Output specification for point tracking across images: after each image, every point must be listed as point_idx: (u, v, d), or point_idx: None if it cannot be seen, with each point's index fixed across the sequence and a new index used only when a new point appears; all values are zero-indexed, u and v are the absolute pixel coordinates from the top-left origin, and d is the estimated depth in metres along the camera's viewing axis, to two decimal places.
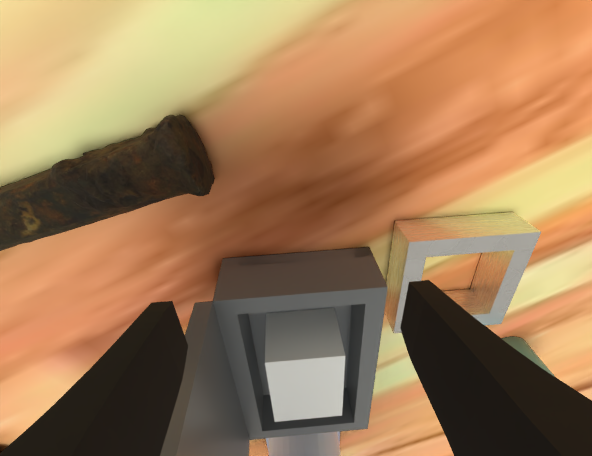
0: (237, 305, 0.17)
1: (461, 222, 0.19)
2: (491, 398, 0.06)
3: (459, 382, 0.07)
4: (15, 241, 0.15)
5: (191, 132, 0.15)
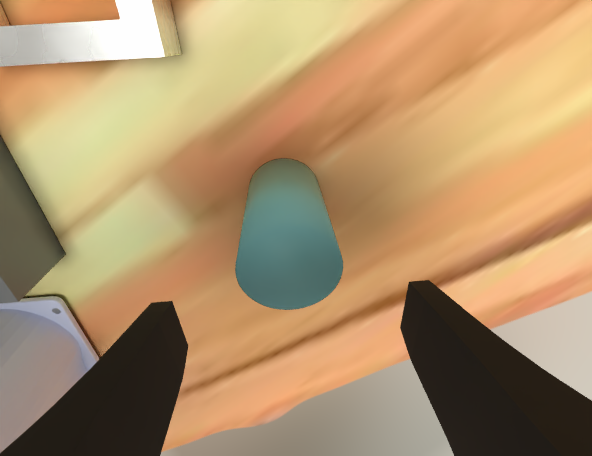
0: None
1: None
2: (491, 398, 0.06)
3: (459, 382, 0.07)
4: None
5: None
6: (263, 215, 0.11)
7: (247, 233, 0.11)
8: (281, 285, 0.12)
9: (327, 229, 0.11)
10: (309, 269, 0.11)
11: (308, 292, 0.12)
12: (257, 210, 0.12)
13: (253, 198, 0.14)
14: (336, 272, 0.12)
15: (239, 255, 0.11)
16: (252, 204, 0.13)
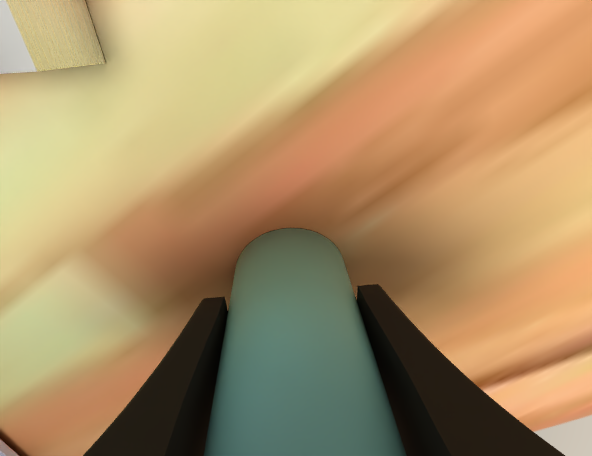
0: None
1: None
2: (413, 405, 0.06)
3: (393, 388, 0.07)
4: None
5: None
6: (253, 418, 0.05)
7: None
8: None
9: (393, 454, 0.05)
10: None
11: None
12: (242, 386, 0.06)
13: (237, 327, 0.07)
14: None
15: None
16: (234, 348, 0.07)
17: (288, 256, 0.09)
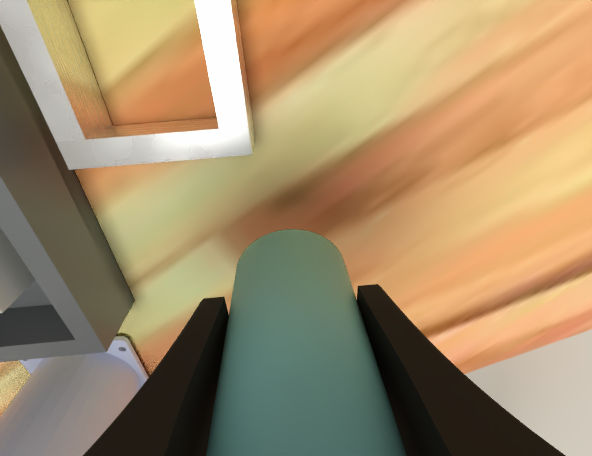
0: None
1: None
2: (413, 405, 0.06)
3: (393, 388, 0.07)
4: None
5: None
6: (251, 421, 0.05)
7: None
8: None
9: (392, 453, 0.05)
10: None
11: None
12: (241, 388, 0.06)
13: (237, 330, 0.07)
14: None
15: None
16: (234, 351, 0.07)
17: (287, 258, 0.09)
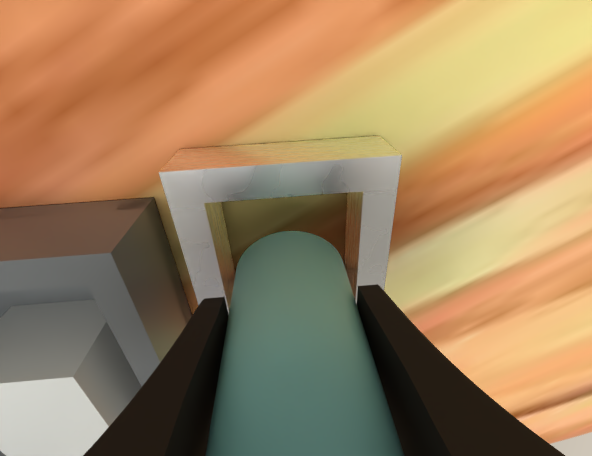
0: None
1: (281, 148, 0.11)
2: (413, 405, 0.06)
3: (393, 388, 0.07)
4: None
5: None
6: (245, 425, 0.05)
7: None
8: None
9: (386, 454, 0.05)
10: None
11: None
12: (237, 393, 0.06)
13: (234, 334, 0.07)
14: None
15: None
16: (231, 355, 0.07)
17: (283, 260, 0.09)
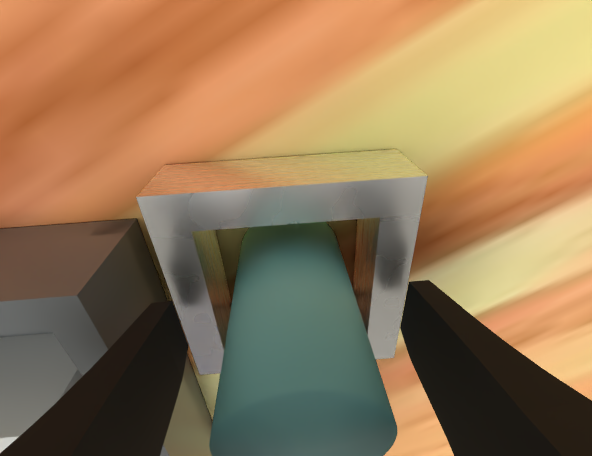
0: None
1: (283, 164, 0.10)
2: (491, 398, 0.06)
3: (459, 382, 0.07)
4: None
5: None
6: (252, 350, 0.07)
7: (227, 390, 0.06)
8: None
9: (366, 371, 0.06)
10: (339, 439, 0.07)
11: None
12: (245, 330, 0.07)
13: (241, 291, 0.09)
14: (386, 439, 0.07)
15: (213, 434, 0.06)
16: (239, 306, 0.08)
17: (283, 232, 0.10)
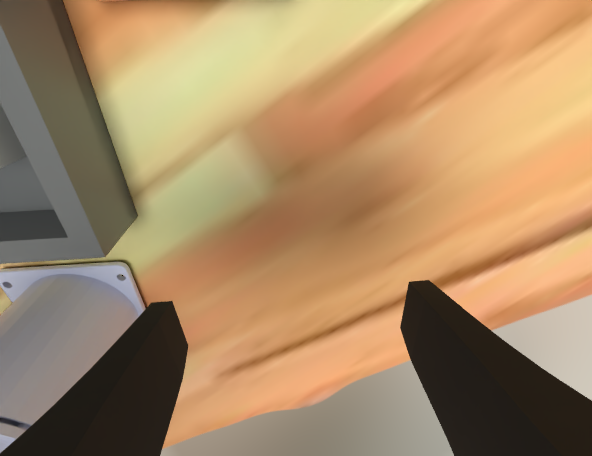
0: None
1: None
2: (491, 398, 0.06)
3: (460, 382, 0.07)
4: None
5: None
6: None
7: None
8: None
9: None
10: None
11: None
12: None
13: None
14: None
15: None
16: None
17: None
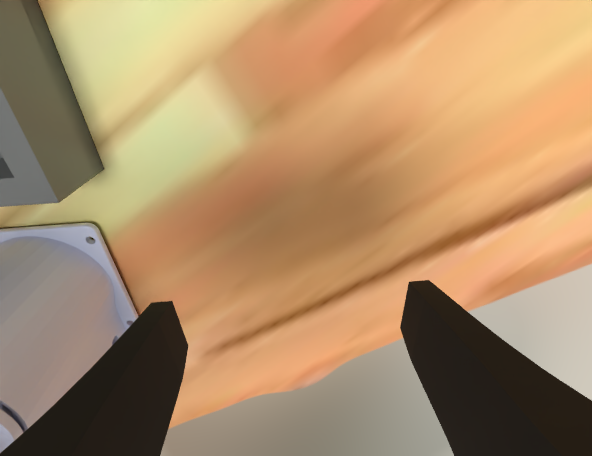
0: None
1: None
2: (491, 398, 0.06)
3: (459, 382, 0.07)
4: None
5: None
6: None
7: None
8: None
9: None
10: None
11: None
12: None
13: None
14: None
15: None
16: None
17: None
